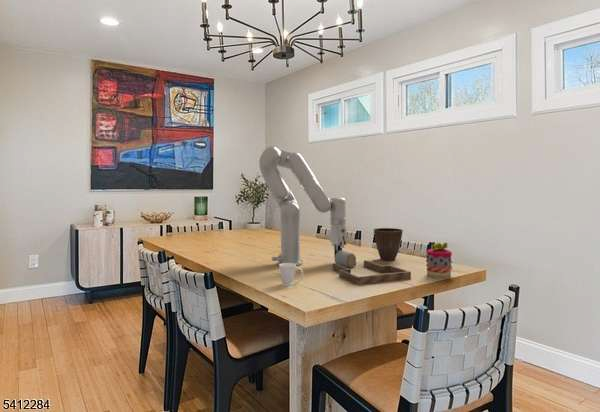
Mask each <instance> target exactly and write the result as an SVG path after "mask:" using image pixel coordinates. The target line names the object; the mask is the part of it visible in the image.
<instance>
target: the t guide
mask: <svg viewBox="0 0 600 412" xmlns="http://www.w3.org/2000/svg"><path fill="white" fill-rule="evenodd" d="M363 267H364V268H367V269H369V270H372V271H374V272H378V273H381V274H372V275H362V276H359V275H355V274H353V273H351V271H352V270H351V269H350V268H348V267H343V266H341V265H338V264H336V263H335V262H334V263H332V271H334V272H338V274H339V278H341V279H344V280H345V281H348V282H350V283H352V284H354V285H357V286H362V285H369V284H377V283H378V284H379V283H386V282H394V281H395V282H396V281H403V280H411V278H412V277H411V276H412V271H410V270H407V269H403V268H400V267H397V266H394V265H391V264H388V265H387V264H385V265H381V264H378V263H375V262H371V261H368V260H363Z"/></svg>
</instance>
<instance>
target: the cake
mask: <svg viewBox="0 0 600 412" xmlns="http://www.w3.org/2000/svg"><path fill="white" fill-rule="evenodd" d="M432 245H433V246H432V247H433V248H429V249H427V250H426V259H425V260H426V261H425V262H426V264H425V266H426V267H427V268H426V276H428V277H429V278H435V279H448V278H451V276H452V275H451V274H452V269H453V266H452V254H453V253H452V251H451V250H449V249H447V248H448V242H443V243H440V242H435V243H433V244H432Z"/></svg>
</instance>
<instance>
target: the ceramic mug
mask: <svg viewBox="0 0 600 412" xmlns="http://www.w3.org/2000/svg"><path fill="white" fill-rule="evenodd" d="M356 258H357V257H356V255H355V254H354V252H351V251H350V252H349V251H345V250H343V249H342V250H339V251H338V252H337V253H336V255H335V258H334V263H335V264H338V265H341V266H343V267H346V268H348V269H350V268H352V267H354V266H357V264H358V263H357V259H356Z"/></svg>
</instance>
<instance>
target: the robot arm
mask: <svg viewBox="0 0 600 412" xmlns="http://www.w3.org/2000/svg"><path fill="white" fill-rule="evenodd" d="M258 165H259V170H260V173H261V176H262V178H263V180H264V181H265V184H266V186H267V187H268V190H269V192H270V195H271V196H272V198H273V199H274V200H275V202H276V203H277V206H278V208H279V209H280V254H279V255H277V256H272V257H271V260H272V261H273V262H274V261H276V262H277V264H278V265H279V264H282V263H294V264H296V266H301V265H303V263H304V261H303V259H302V260H301V252H300V251H301V238H300V237H301V235H300V233H301V231H300V229H301V228H300V227H301V225H300V224H301V223H300V222H301V221H300V220H301V219H300V218H301V217H300V216H301V208H300V205H299V202H297V199H296V197H295V196H294V194H293V193H292V190H291V188H290V186H289V185H288V184H287V183H286V181H285V180H284V178H283V177H282V175H281V172H280V170H279V168H278V167H282V168H285V169H288V170H290V171H291V173H292V174H293V176H294V177H295V179H296V180H297V182H298V184H299V185H300V187H301V188H302V190H303V191H304V192H305V193H306V195H307V196H308V198H309V199H310V201H311V202H312V204H313V205H314V207H315V209H316V210H317V212H319V213H322V214H326V213H328V212H330V214H329V215H330V230H329V231H330V233H329V242H330V243H331V245H332V246H333V251H334V256H333V257H334V259H335V255H336V253H337V252H338V251H339V250H342V251H343V249H344V248H345V246H347V245H348V234H347V233H348V232H347V226H346V199H345V198H344V197H328V196H327V194H326V193H325V191H324V190H323V187H322V186H321V185H320V183H319V181H318V179H317V177H316V176H315V174H314V173H313V172H312V170H311V168H310V167H309V165H308V164H307V162H306V160H305V159H304V157H303V156H302V155H301V153H300V152H299V153H298V152H297V151H295V152H290V151H286V150H282V149H279V148H278V147H277V146H273V145H271V146H268V147H266V148H265V149H264V150H263V151H262V153H261V155H260V157H259V163H258Z"/></svg>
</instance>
